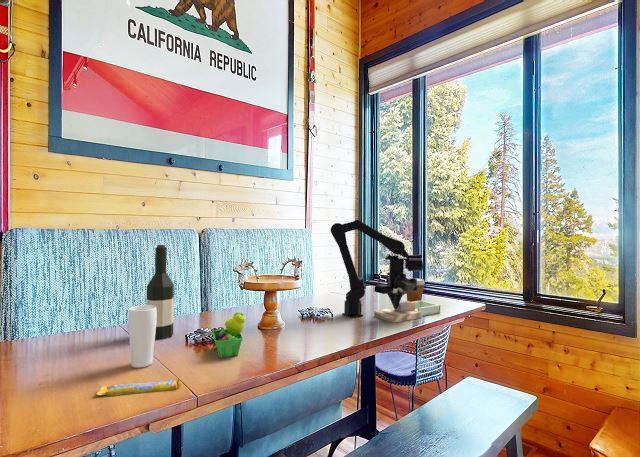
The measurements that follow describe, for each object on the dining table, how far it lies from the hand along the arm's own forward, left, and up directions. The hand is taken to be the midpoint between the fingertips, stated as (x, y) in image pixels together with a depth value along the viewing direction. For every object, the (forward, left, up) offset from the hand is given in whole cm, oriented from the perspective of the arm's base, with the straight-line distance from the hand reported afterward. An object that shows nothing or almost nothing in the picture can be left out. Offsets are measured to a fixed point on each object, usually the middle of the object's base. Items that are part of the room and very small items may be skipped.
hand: (395, 308), depth 152 cm
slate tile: (+3, 0, -1) cm, 3 cm away
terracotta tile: (+7, 0, -1) cm, 7 cm away
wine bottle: (-87, +19, -4) cm, 89 cm away
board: (+1, 0, -4) cm, 4 cm away
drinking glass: (-95, -5, -4) cm, 95 cm away
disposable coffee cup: (+26, +15, -4) cm, 30 cm away
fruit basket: (-72, -6, -4) cm, 72 cm away
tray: (+16, +2, -4) cm, 16 cm away
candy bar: (-97, -21, -4) cm, 99 cm away
